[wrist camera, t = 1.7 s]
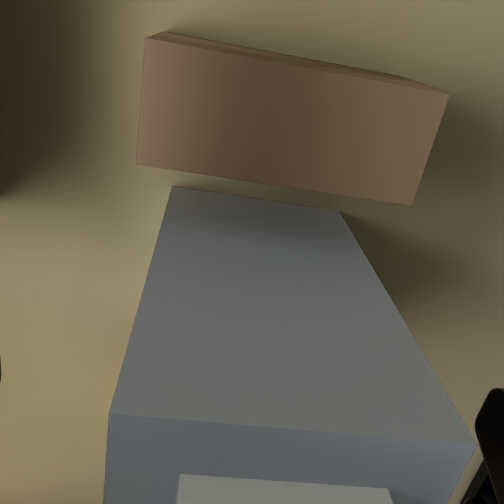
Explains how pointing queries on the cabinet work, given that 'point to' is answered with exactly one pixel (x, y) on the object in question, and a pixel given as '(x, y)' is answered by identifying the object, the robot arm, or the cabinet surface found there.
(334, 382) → the plug
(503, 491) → the robot arm
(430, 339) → the cabinet surface
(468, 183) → the cabinet surface
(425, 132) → the brown blocks
